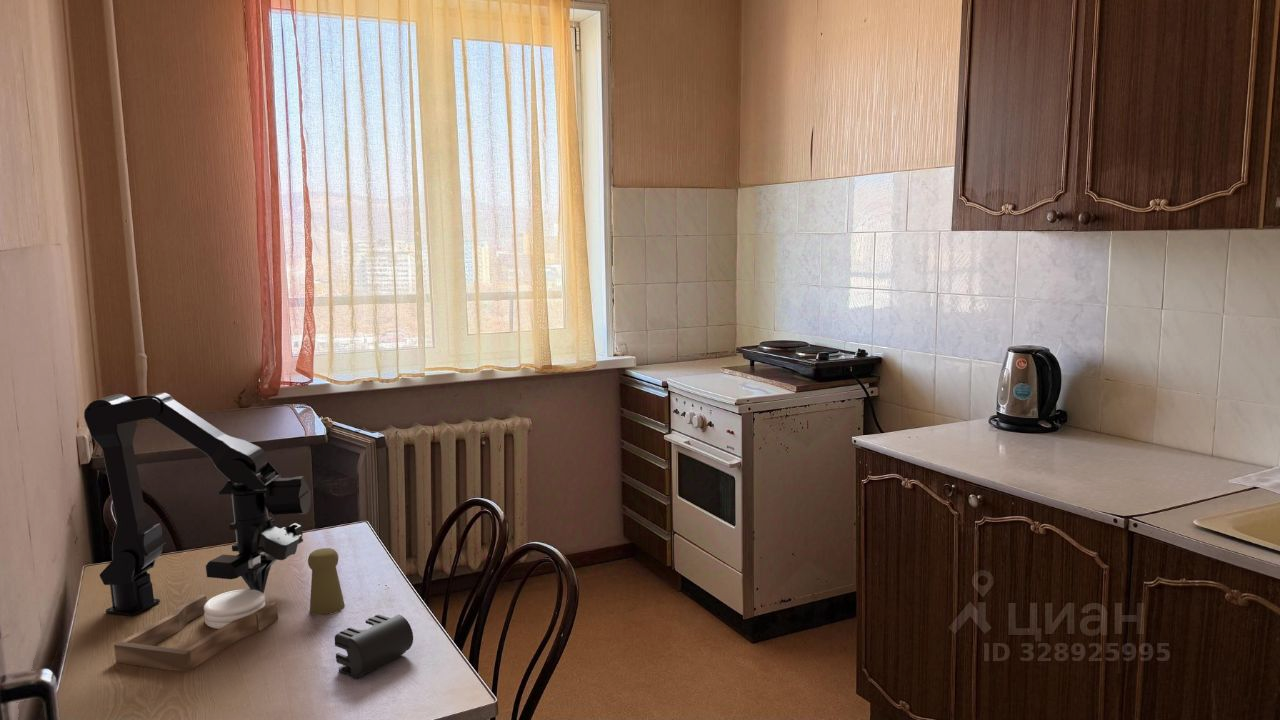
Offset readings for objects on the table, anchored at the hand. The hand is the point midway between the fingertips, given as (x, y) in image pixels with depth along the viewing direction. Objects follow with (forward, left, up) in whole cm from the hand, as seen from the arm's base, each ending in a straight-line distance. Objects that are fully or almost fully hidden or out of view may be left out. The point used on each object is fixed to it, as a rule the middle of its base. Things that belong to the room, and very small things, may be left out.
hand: (259, 596), depth 165 cm
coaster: (0, -6, -2) cm, 6 cm away
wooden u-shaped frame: (0, -15, -1) cm, 15 cm away
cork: (+14, +1, -2) cm, 14 cm away
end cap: (+35, -16, -2) cm, 39 cm away
